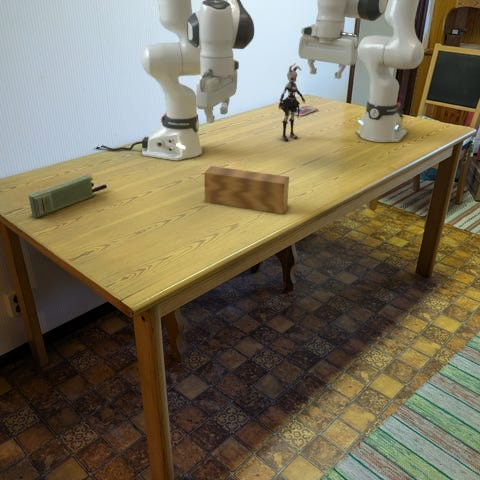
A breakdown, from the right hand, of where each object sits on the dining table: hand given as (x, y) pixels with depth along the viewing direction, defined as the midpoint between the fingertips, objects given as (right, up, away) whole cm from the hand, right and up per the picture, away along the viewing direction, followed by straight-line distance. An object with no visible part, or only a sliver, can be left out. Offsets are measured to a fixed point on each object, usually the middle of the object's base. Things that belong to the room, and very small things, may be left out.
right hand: (325, 76), depth 165 cm
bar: (-26, -43, -13) cm, 51 cm away
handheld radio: (-78, -42, -13) cm, 90 cm away
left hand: (-34, -19, -23) cm, 45 cm away
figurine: (-8, -12, +42) cm, 45 cm away
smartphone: (+3, +8, +78) cm, 78 cm away
